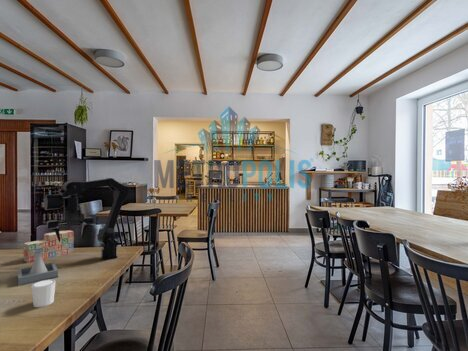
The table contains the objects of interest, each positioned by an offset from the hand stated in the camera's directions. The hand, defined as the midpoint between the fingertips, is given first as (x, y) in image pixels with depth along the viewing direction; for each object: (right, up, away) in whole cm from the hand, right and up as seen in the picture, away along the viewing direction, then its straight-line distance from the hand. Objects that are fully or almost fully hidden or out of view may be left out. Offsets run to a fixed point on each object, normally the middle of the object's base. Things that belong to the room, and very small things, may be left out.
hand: (71, 240), depth 124 cm
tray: (-7, -13, -11) cm, 19 cm away
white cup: (+12, -14, -34) cm, 39 cm away
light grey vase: (-7, -13, -11) cm, 18 cm away
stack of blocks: (-21, -13, +16) cm, 30 cm away
